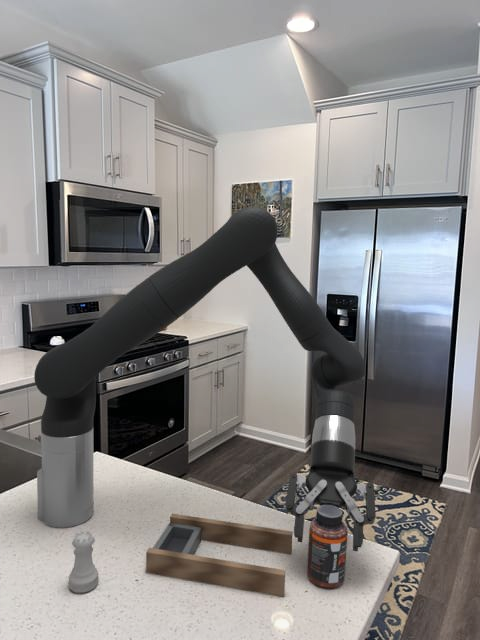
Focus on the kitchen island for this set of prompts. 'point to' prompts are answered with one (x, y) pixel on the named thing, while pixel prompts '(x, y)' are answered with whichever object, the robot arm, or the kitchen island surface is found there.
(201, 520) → the walnut channel
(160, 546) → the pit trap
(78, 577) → the rook chess piece
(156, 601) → the kitchen island surface
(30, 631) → the kitchen island surface
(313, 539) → the supplement bottle
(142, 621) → the kitchen island surface
